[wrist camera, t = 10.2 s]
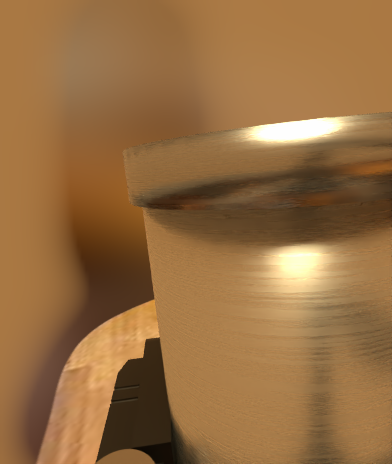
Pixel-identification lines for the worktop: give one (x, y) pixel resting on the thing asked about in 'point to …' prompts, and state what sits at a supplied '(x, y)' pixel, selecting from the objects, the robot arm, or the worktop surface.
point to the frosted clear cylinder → (273, 288)
